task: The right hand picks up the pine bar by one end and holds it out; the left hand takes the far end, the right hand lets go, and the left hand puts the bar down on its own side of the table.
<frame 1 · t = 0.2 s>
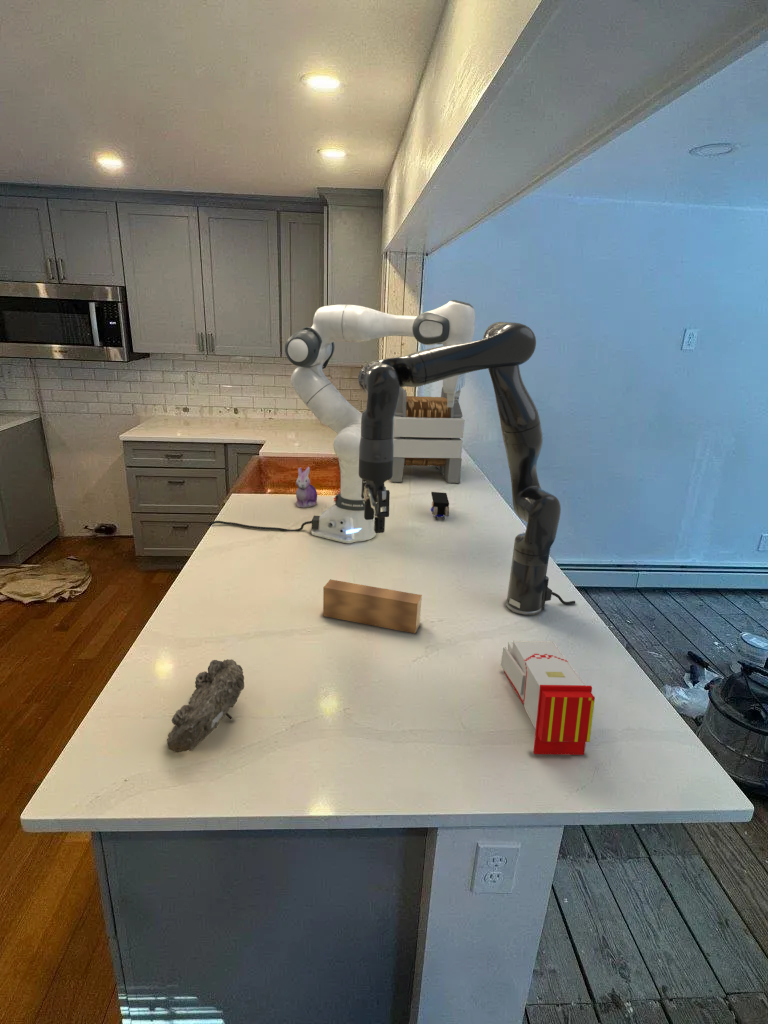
left hand: (453, 404, 174), 48 cm above the counter, tool pointing down, fingers open, 8 cm apart
right hand: (373, 525, 130), 28 cm above the counter, tool pointing down, fingers open, 8 cm apart
bar: (371, 620, 144), on the counter
fossil: (212, 717, 108), on the counter
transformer: (419, 473, 275), on the counter
figurine: (306, 504, 225), on the counter
toy: (537, 705, 115), on the counter
figurine character: (439, 515, 220), on the counter
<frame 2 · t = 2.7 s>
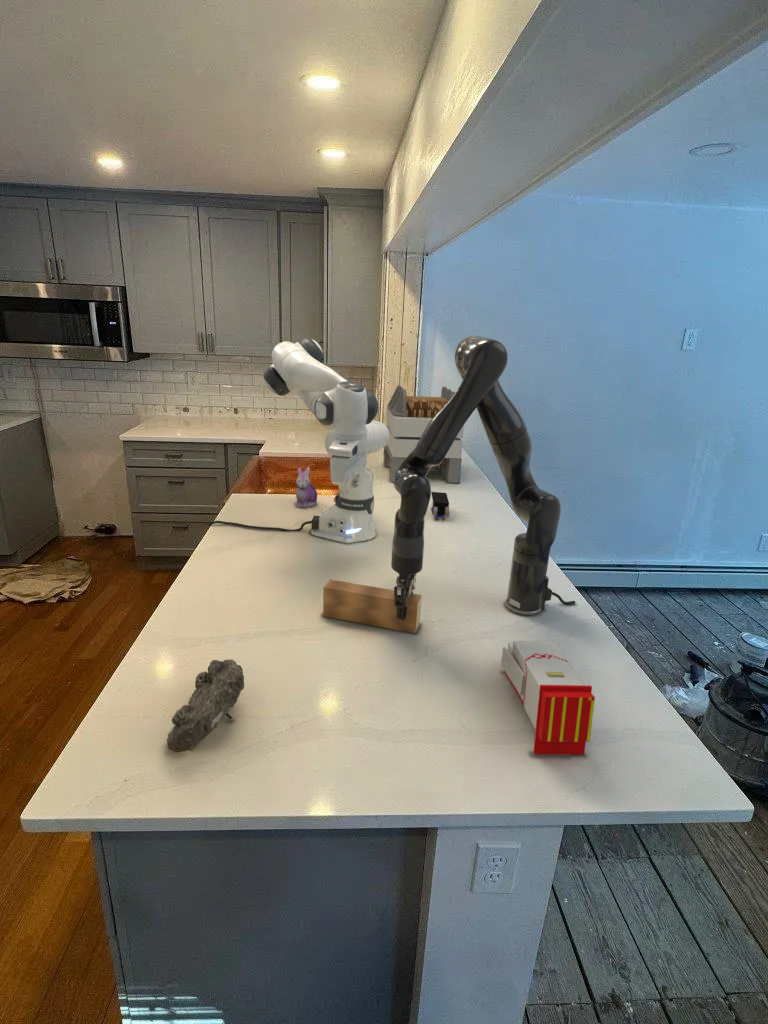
left hand: (349, 491, 159), 26 cm above the counter, tool pointing down, fingers open, 8 cm apart
right hand: (403, 613, 141), 4 cm above the counter, tool pointing down, fingers closed on bar, 4 cm apart
bar: (371, 620, 144), on the counter, touching right hand
everything else where it was.
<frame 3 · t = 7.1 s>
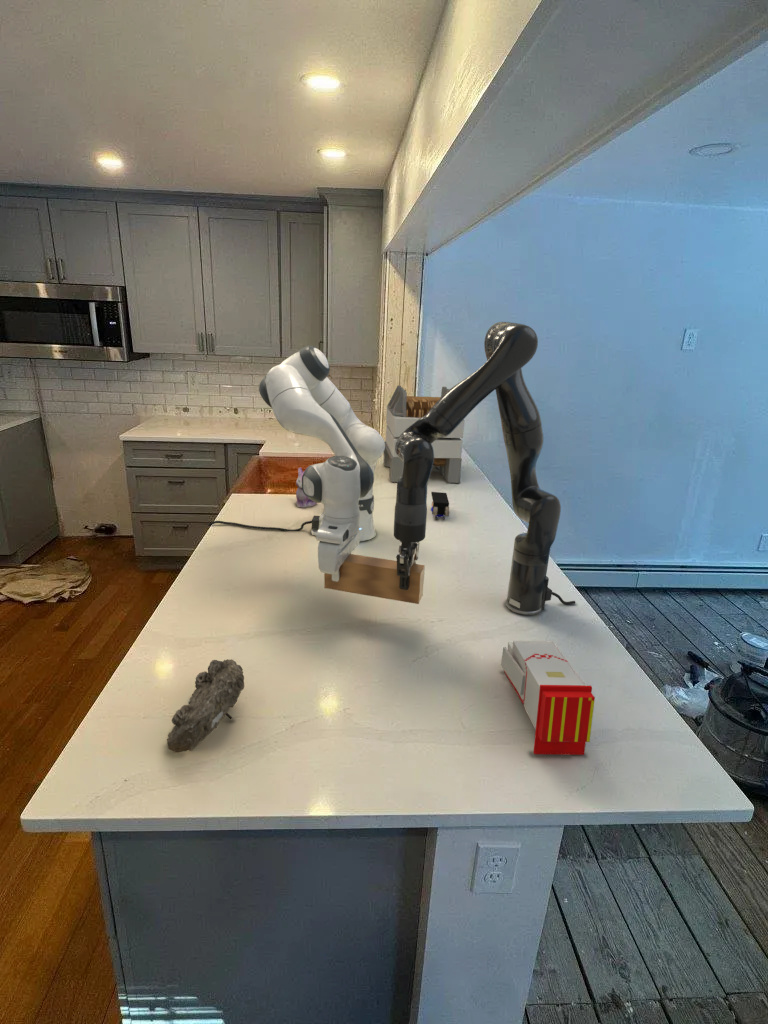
left hand: (340, 575, 142), 11 cm above the counter, tool pointing down, fingers closed on bar, 5 cm apart
right hand: (406, 583, 138), 12 cm above the counter, tool pointing down, fingers closed on bar, 4 cm apart
bar: (373, 591, 141), point 8 cm above the counter, touching left hand, right hand
everything else where it was.
when the right hand's fingers open (12 cm above the counter, at t = 8.2 s): bar stays where it is, held by the left hand.
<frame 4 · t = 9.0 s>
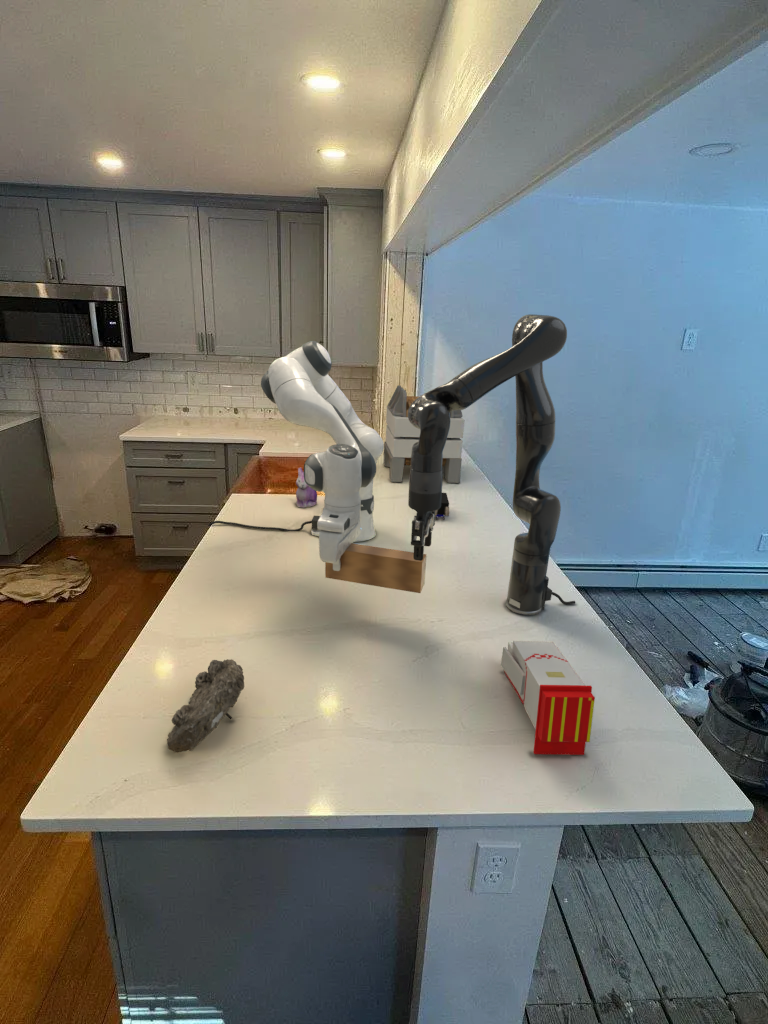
left hand: (341, 564, 142), 14 cm above the counter, tool pointing down, fingers closed on bar, 5 cm apart
right hand: (422, 552, 134), 21 cm above the counter, tool pointing down, fingers open, 8 cm apart
bar: (374, 581, 141), point 11 cm above the counter, touching left hand
everything else where it was.
when the left hand's fingers open (4 cm above the counter, at t = 12.1 s): bar stays where it is, on the counter.
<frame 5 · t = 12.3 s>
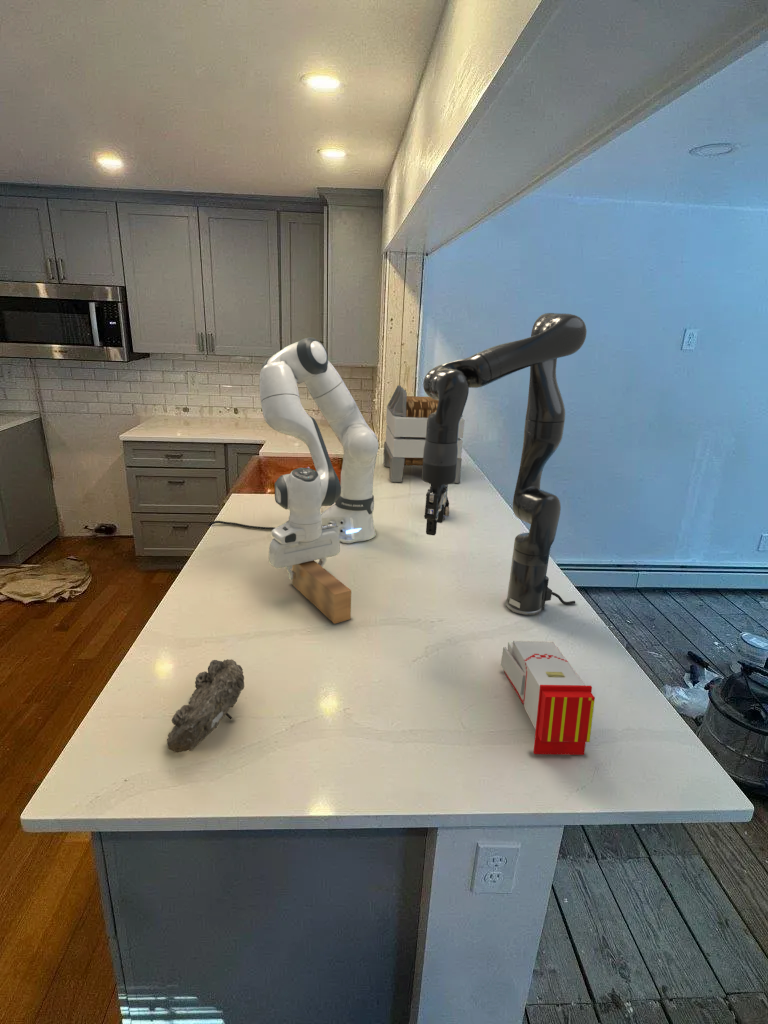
left hand: (305, 575, 157), 4 cm above the counter, tool pointing down, fingers open, 7 cm apart
right hand: (434, 528, 131), 27 cm above the counter, tool pointing down, fingers open, 8 cm apart
bar: (319, 601, 152), on the counter
everything else where it was.
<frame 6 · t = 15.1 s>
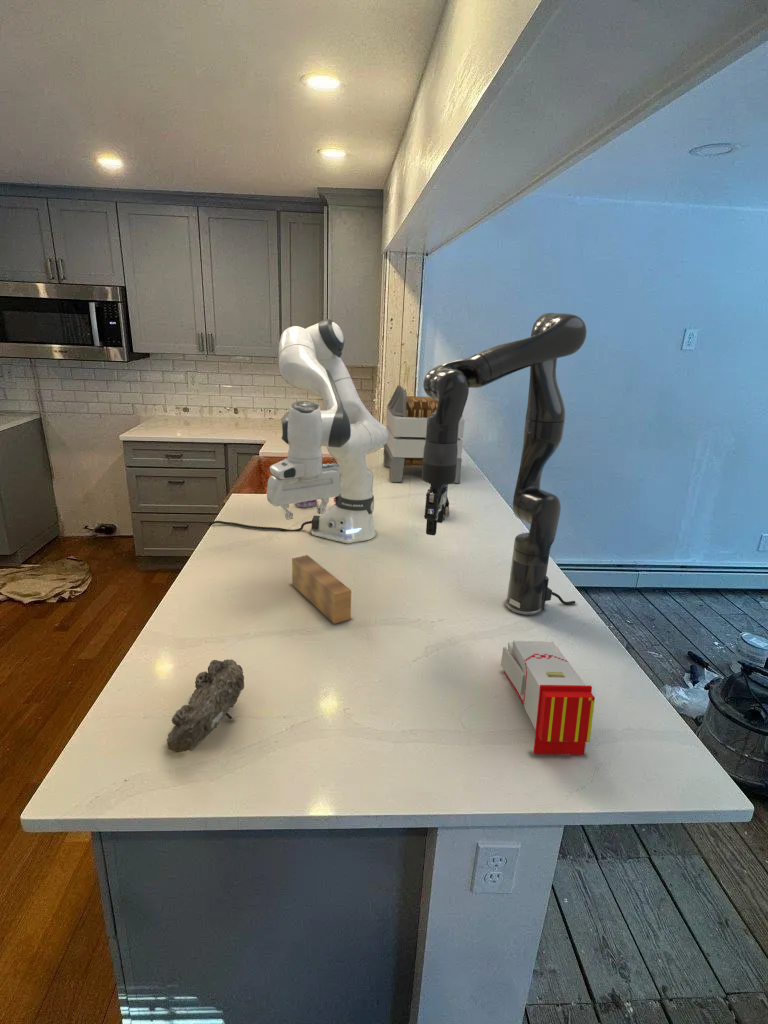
left hand: (305, 516, 151), 22 cm above the counter, tool pointing down, fingers open, 8 cm apart
right hand: (434, 528, 131), 27 cm above the counter, tool pointing down, fingers open, 8 cm apart
nothing on the counter moved.
at the end: bar inside the target area (8.5 cm from its centre), on the counter; the left hand is holding nothing; the right hand is holding nothing; bar at rest at the end (0.0 cm/s) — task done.
